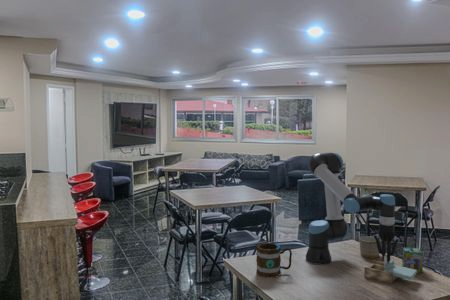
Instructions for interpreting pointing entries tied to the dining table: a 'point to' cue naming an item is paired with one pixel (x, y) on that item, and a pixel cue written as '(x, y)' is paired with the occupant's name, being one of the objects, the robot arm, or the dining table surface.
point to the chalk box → (412, 258)
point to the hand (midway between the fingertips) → (386, 267)
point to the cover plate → (400, 270)
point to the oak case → (379, 272)
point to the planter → (368, 247)
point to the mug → (270, 260)
